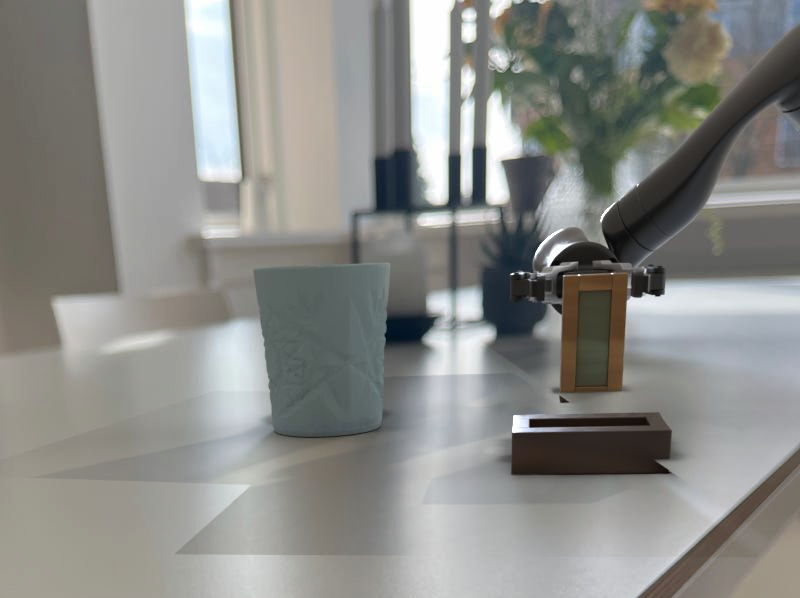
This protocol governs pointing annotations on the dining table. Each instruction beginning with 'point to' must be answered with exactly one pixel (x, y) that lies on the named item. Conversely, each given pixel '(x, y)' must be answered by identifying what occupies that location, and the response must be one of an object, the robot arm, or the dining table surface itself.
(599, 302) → the frame
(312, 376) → the pale blue-green cup
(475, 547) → the dining table surface
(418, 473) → the dining table surface
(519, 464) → the holder
